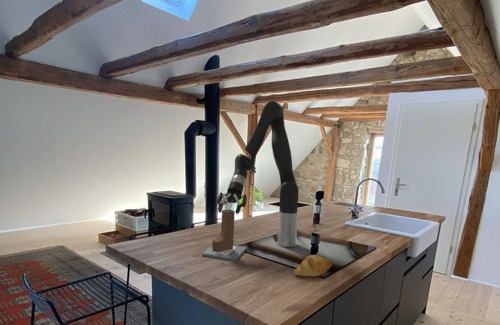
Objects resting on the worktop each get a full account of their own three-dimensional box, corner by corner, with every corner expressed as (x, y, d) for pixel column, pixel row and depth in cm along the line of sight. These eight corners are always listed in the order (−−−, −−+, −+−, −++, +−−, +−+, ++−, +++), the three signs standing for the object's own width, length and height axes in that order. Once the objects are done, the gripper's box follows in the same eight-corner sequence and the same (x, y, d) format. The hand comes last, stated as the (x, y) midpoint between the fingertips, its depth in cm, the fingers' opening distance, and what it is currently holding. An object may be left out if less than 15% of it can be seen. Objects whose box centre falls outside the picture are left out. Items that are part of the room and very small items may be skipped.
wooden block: (216, 252, 129) (218, 212, 129) (211, 249, 133) (213, 210, 132) (233, 248, 135) (235, 211, 134) (228, 246, 138) (229, 209, 138)
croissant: (299, 288, 108) (307, 274, 105) (284, 268, 115) (291, 254, 112) (335, 276, 120) (343, 262, 117) (319, 258, 128) (327, 244, 124)
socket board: (246, 249, 139) (246, 246, 139) (235, 261, 124) (235, 257, 123) (216, 245, 143) (216, 242, 143) (201, 255, 128) (202, 252, 128)
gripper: (221, 180, 144) (211, 206, 134) (248, 181, 140) (240, 209, 129) (225, 189, 149) (216, 215, 139) (251, 191, 145) (244, 218, 135)
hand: (228, 212), depth 134 cm, fingers open, 8 cm apart
